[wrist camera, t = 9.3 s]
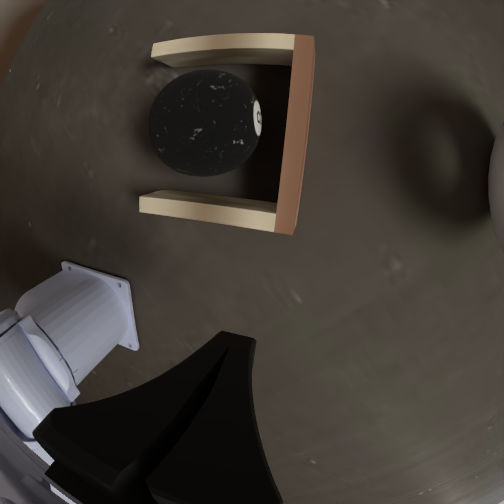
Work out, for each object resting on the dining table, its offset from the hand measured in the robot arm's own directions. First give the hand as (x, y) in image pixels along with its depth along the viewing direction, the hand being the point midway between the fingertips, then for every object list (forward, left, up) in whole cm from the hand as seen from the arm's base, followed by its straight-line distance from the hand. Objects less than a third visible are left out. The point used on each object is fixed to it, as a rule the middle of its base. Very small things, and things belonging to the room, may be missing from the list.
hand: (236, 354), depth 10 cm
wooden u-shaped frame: (-4, +8, -9) cm, 13 cm away
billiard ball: (-4, +8, -10) cm, 14 cm away
